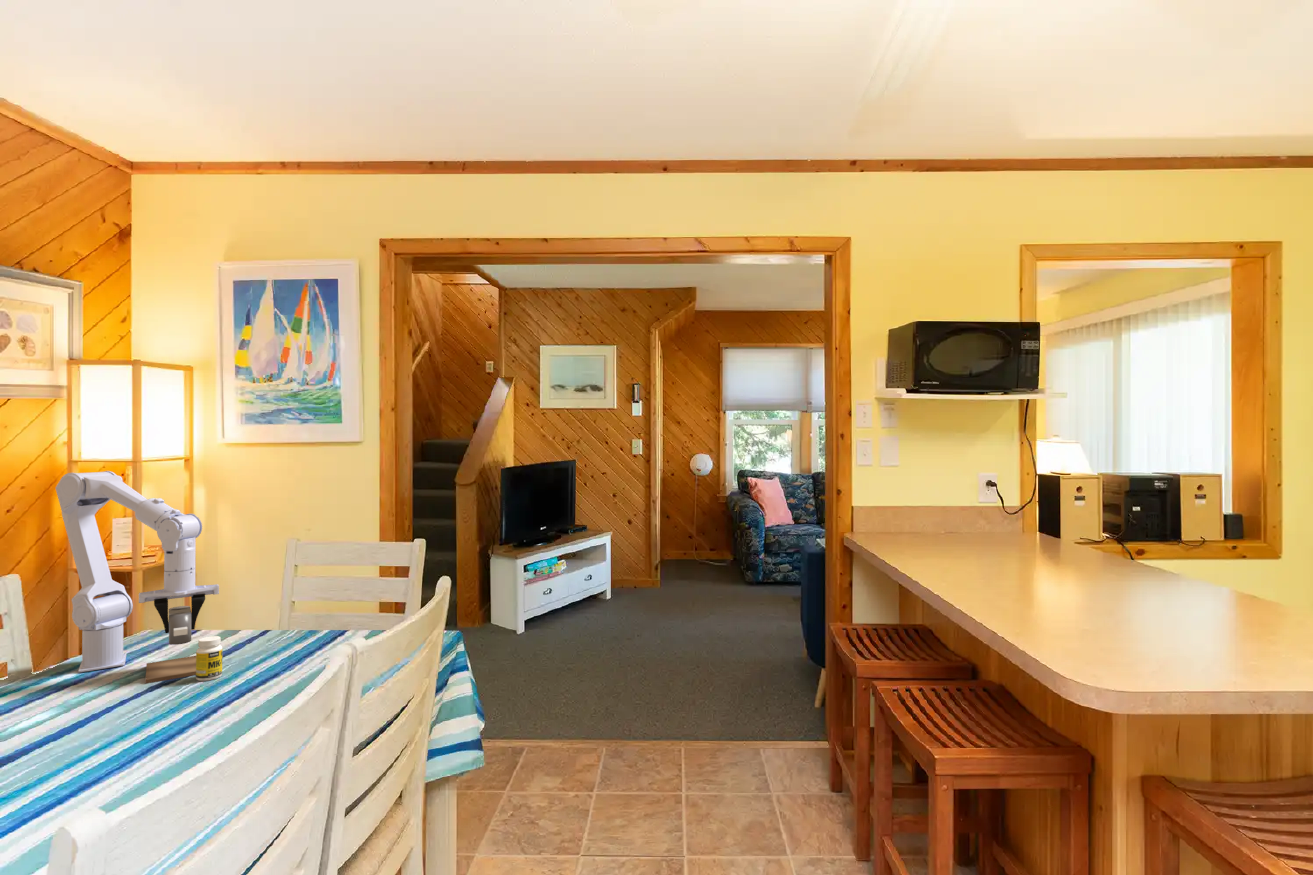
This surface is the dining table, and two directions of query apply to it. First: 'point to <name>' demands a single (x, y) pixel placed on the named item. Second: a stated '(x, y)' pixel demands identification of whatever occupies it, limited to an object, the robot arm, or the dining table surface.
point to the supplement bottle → (209, 658)
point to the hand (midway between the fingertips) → (179, 630)
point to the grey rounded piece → (179, 625)
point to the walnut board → (170, 669)
